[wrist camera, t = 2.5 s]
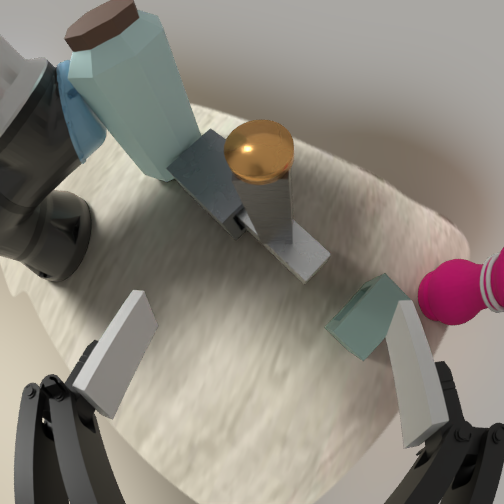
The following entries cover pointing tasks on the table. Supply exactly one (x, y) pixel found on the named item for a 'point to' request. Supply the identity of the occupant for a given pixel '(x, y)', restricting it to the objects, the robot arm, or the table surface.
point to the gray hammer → (271, 195)
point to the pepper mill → (463, 289)
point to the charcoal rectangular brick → (210, 180)
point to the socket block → (367, 316)
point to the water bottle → (132, 84)
